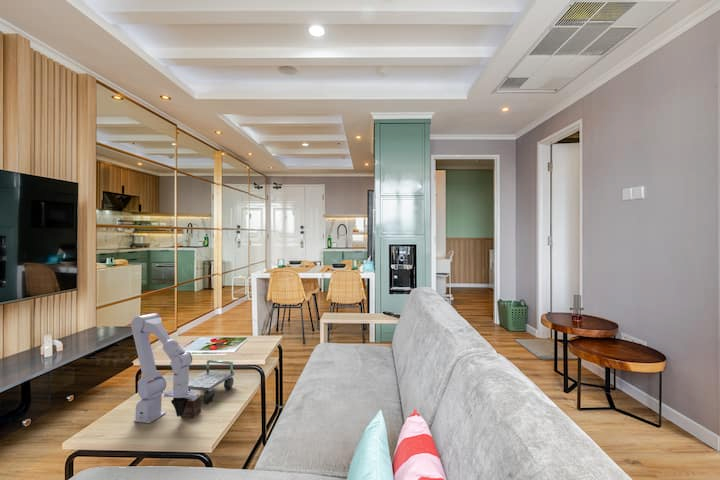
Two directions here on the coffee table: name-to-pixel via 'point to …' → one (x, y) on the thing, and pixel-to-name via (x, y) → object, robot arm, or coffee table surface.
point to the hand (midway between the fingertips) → (180, 415)
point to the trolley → (211, 380)
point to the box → (192, 408)
